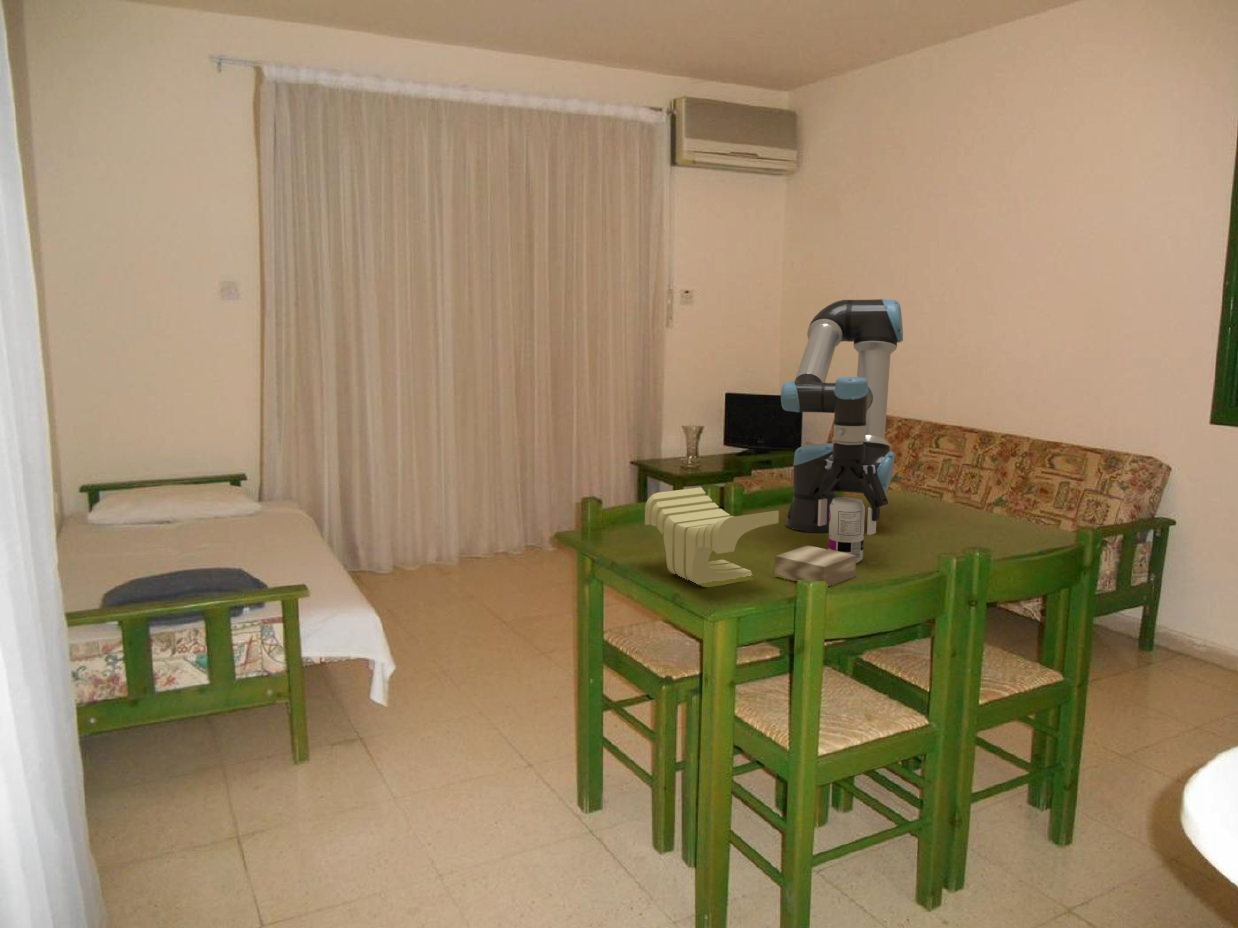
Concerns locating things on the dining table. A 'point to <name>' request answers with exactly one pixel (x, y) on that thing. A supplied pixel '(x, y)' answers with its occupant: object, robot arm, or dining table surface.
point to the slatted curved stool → (700, 533)
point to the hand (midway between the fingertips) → (846, 529)
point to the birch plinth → (816, 565)
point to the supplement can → (847, 526)
